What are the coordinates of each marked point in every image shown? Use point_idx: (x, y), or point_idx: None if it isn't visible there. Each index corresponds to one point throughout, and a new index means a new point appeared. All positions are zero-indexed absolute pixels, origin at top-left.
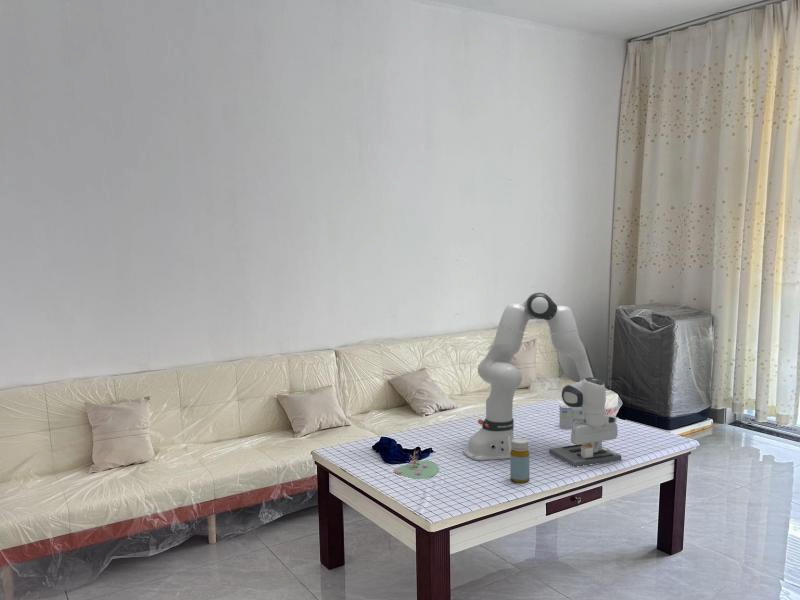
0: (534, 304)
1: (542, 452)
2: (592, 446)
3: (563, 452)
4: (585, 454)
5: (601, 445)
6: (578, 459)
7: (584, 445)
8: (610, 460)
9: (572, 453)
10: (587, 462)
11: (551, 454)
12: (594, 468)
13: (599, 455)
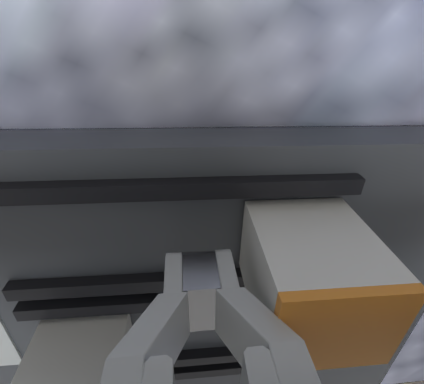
0: None
1: None
2: (274, 319)
3: None
4: (367, 225)
5: (22, 370)
6: (410, 203)
7: (339, 365)
8: (44, 134)
9: None
10: (356, 137)
11: None
12: (347, 19)
13: (134, 231)
